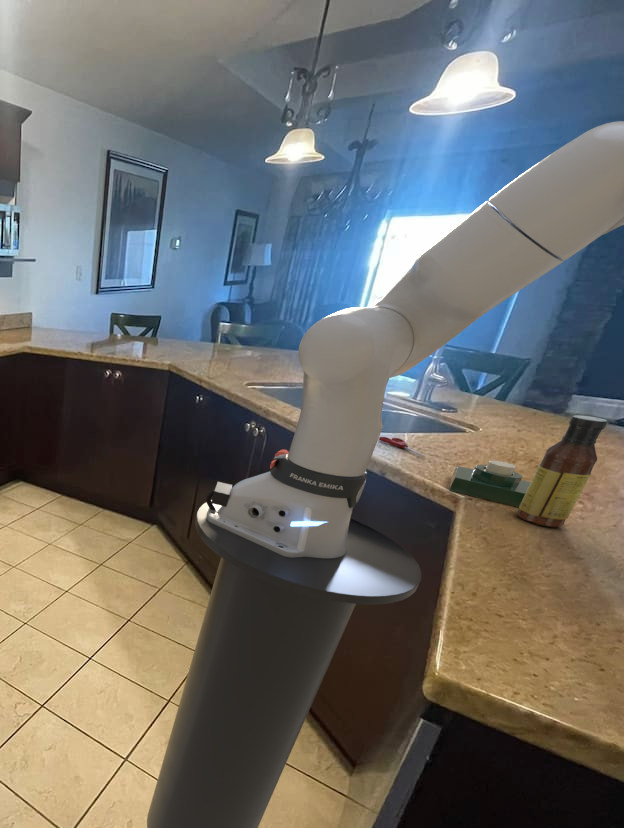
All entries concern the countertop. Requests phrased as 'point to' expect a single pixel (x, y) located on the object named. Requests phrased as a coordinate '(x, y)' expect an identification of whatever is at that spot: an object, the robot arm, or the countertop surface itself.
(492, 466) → the white short cylinder
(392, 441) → the scissors
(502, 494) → the base
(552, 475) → the sauce bottle
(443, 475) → the countertop surface
